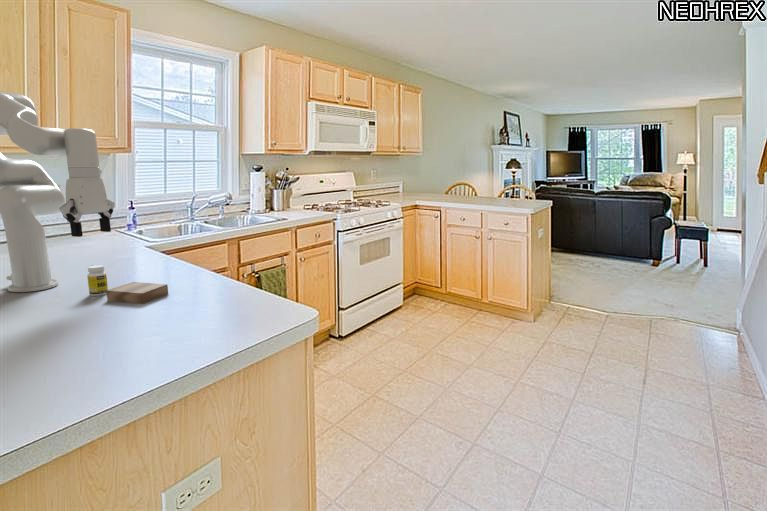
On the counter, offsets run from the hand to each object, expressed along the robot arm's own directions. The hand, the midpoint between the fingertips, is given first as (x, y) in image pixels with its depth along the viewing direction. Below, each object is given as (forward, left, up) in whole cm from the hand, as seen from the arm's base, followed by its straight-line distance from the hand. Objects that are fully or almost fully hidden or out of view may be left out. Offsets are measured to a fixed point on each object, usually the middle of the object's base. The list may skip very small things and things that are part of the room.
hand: (92, 233), depth 133 cm
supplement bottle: (0, 0, -18) cm, 18 cm away
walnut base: (+14, 0, -18) cm, 23 cm away
